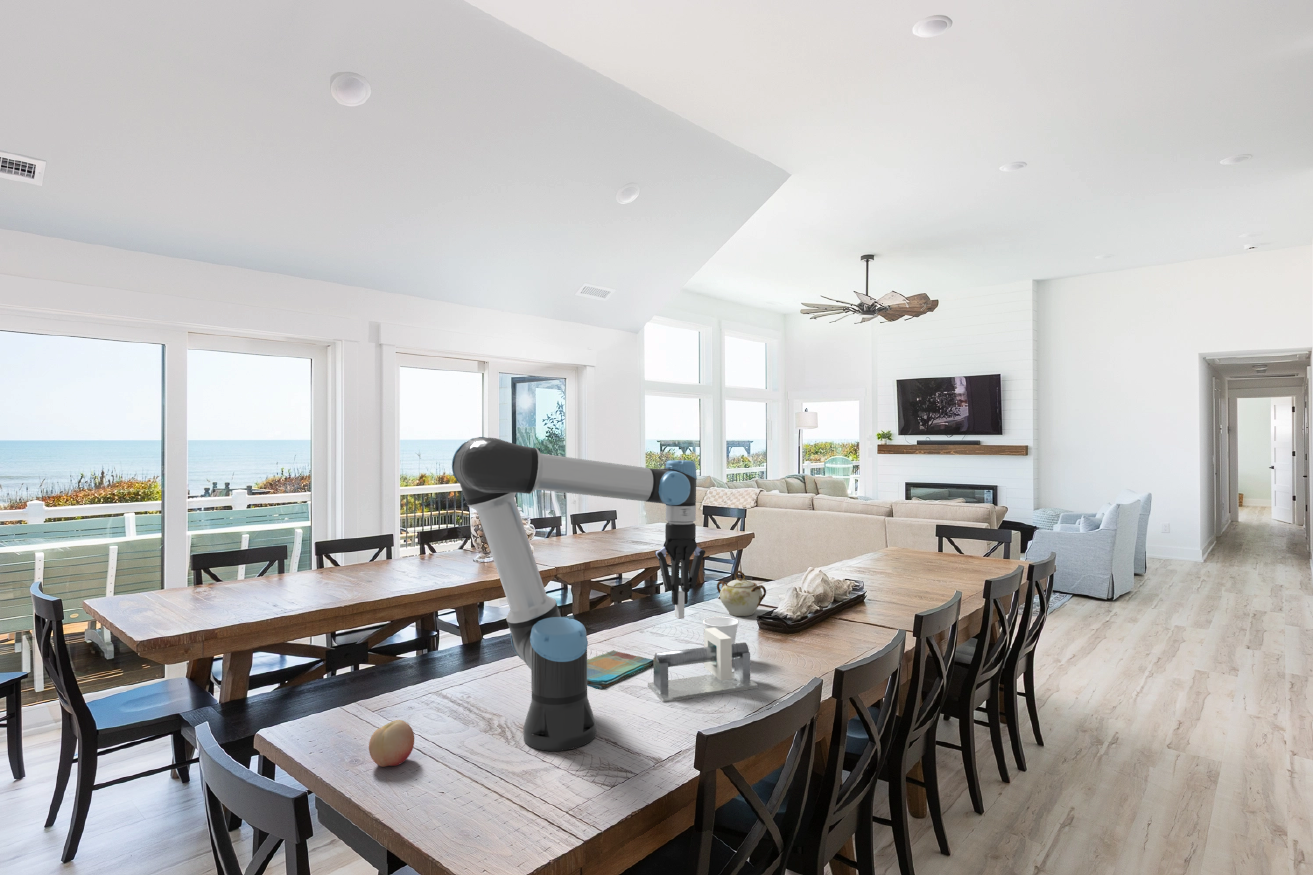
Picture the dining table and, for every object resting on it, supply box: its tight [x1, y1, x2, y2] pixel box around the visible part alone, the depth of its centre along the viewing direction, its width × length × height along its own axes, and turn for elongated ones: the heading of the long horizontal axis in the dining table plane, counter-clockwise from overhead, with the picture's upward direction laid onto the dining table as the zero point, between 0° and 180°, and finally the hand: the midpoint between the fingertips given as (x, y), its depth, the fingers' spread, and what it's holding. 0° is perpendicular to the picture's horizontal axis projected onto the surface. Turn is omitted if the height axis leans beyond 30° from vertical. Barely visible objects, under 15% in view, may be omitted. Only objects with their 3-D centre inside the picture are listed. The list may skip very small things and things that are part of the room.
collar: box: [703, 628, 733, 680], centre depth 176 cm, size 3×10×10 cm, turn 19°
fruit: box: [368, 719, 415, 768], centre depth 135 cm, size 8×8×8 cm
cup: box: [702, 616, 740, 644], centre depth 195 cm, size 10×10×11 cm
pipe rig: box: [647, 642, 759, 703], centre depth 174 cm, size 25×11×10 cm, turn 110°
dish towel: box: [587, 650, 653, 690], centre depth 188 cm, size 17×23×2 cm
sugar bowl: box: [716, 570, 767, 617], centre depth 245 cm, size 20×15×15 cm
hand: (679, 617), depth 174 cm, fingers closed
